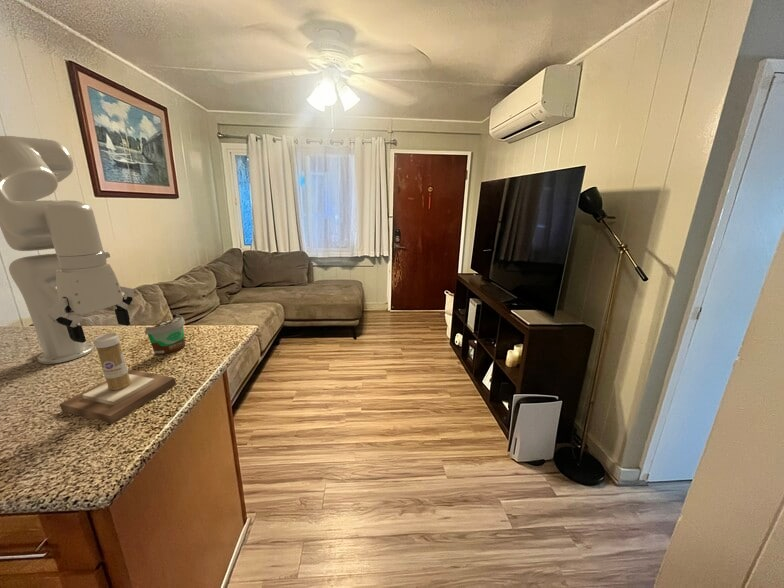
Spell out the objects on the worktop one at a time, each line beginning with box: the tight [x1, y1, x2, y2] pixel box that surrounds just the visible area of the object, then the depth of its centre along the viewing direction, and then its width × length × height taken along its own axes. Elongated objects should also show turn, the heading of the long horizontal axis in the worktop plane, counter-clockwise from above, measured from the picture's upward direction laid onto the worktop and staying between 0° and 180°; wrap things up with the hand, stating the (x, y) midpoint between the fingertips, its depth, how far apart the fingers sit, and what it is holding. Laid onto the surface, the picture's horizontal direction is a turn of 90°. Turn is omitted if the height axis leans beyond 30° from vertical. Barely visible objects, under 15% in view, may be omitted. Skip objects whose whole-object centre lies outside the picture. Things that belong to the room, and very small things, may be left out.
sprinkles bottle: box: [93, 332, 131, 390], centre depth 78 cm, size 5×5×13 cm
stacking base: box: [59, 368, 177, 424], centre depth 81 cm, size 16×16×3 cm
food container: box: [144, 313, 186, 356], centre depth 104 cm, size 12×6×10 cm, turn 168°
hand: (103, 332), depth 76 cm, fingers open, 9 cm apart
